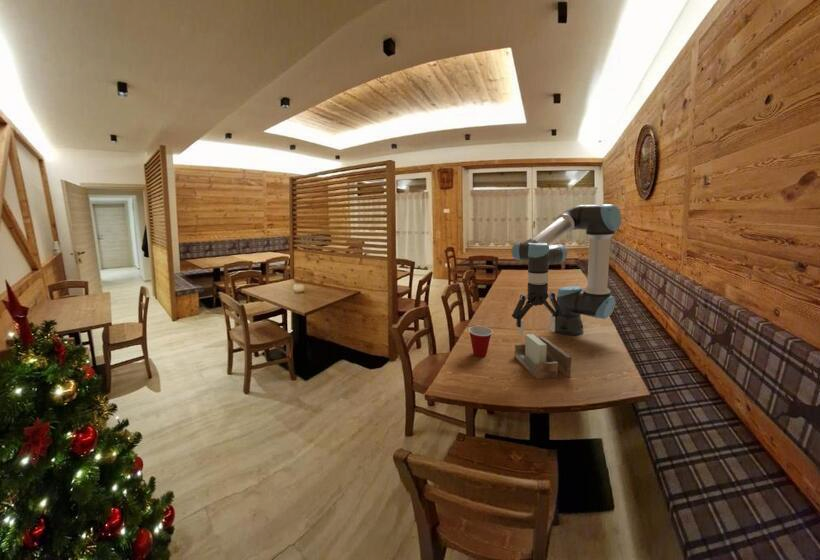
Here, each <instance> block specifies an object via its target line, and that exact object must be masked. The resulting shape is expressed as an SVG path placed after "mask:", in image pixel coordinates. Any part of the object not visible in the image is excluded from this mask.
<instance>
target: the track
mask: <svg viewBox="0 0 820 560" xmlns="http://www.w3.org/2000/svg"><path fill="white" fill-rule="evenodd" d="M539 339H540V340H541V341H542V342H544V343H545V344H546V345H547V350H546V362H545V363H536V366H535V365H534V364H533V363H532V362H530V361H529V360H528V359H527V358H526V357H525V342H524V343H514V357H515V359H516V360H517V361H518V362H520V363H521V365H523V366H524V367H525V369H527V371H529V372H530V373H531V375H533V377H535V378H536V380H544V379H551V378H554V379H555V378H558V372H561V374H563V375H564V376H565V377H571V372H572V369H571V368H572V356H570V355H569V354H568V353H566V352H565V351H564V350H562V349H561V348H560V347H558V346H557V345H555V343H553V342H551V341H550V340H549V339H547V338H546V337H545V336H540V337H539Z"/></svg>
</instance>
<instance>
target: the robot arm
mask: <svg viewBox="0 0 820 560" xmlns="http://www.w3.org/2000/svg"><path fill="white" fill-rule="evenodd" d="M621 223H622V215H621V211H620V209H619V207H618V206H617V205H615V204H613V203H612V204H610V203H609V204H608V203H600V204H598V203H597V204H580V205H576V206H572V207H570V208H568V209H567V210H565V211H563V212H561V213H560V214H559V215H557V216H556V218H555V220H554V221H552V222H551V223H550V224H548V225H547V226H546V227H544V228H543V229H541V230H540V231H539V232H537V233H536V234H534V235H533V236H531V238H529V239H528V240H526V241H525V242H516V243H514V244H513V245H512V248H511V255H512V257H513V259H514V260H519V261H525V262H526V261H527V263H528V264H527V267H528V269H527V295H523V294H520V295H519V299H518V302H517V304H516V306H515V308H514V311H513V313H512V314H511V318H513V319H515V320H516V327H518V328H517V330H518V331H517V332H518V334H519V335H520V337H521V336H524V319H523V318H524V317H525V316H526V314H527V313H528V312H529V310H531V308H533V307H534V306H535V307H536V306H542V305H543V306H544V307H545V308H546V309H547V310H548V311H549V312H550V313H551V314H549V330H550V331H551V332H552V333H558V334H561V335H562V334H563V335H566V336H567V335H568V336H569V335H570V336H576V335H581V334H583V333H584V324H583V320H582V318H581V317H582V315H583V316H588V317H591V318H595V319H601V320H606V319H608V318H609V317H610V316H611V315H612V313H613V311H614V309H615V306H616V298H615V296H613V295H611V293H612V292H611V290H610V288H608V283H609V282H608V281H609V265H610V249H611V248H610V247H611V238H612V237H613V236H614V235H615V232H616V231H618V230H619V229H620V227H621ZM574 230H575V231H576V230H585V234H586V236H587V237H588V238H589V242H588V259H587V260H588V261H587V262H588V264H587V280H586V281H587V282H586V285H587V286H586V287H585V288H583V287H581V286H575V285H573V286H571V285H570V286H564V287H560V288H558V289H557V292H556V294H555V293H554V292H552V291H550V292H548V290H549V289H548V287H549V266H550V265H556V264H560V263H561V262H564V261H565V260H566V259H567V257H568V249H567V248H566V246H564V245H563V244H560V243H558V244H557V243H556V244H553V243H555V242H556V241H557V240H559V239H560V238H561V237H562V236H563V235H565V234H568V233H571V232H572V231H574ZM548 298H549V299H550V302H551V304H552V306H551V305H550V304H549V302H548V301H547V299H548Z"/></svg>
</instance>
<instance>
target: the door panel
mask: <svg viewBox="0 0 820 560" xmlns="http://www.w3.org/2000/svg"><path fill="white" fill-rule="evenodd" d="M524 343H525V357H526V358H527V359H528V360H529V361H530V362H532V363H533V364H534V365H535V366H536V363H545V362H547V360H546V350H547V345H546V344H545V343H544V342H542V341H541V340H540V338H539V337H537V336H536V335H534V334H533V333H527V334H525V342H524Z"/></svg>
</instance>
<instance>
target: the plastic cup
mask: <svg viewBox="0 0 820 560" xmlns="http://www.w3.org/2000/svg"><path fill="white" fill-rule="evenodd" d="M468 332H469V337H470V343H471V348H472V352H473V355H474V356H476V357H479V358H482V357H486V356H487V353H488V351H489V343H490V342H491V341H490V340H491V336H492V334H493V333H494V331H493V329H491V328H490V327H487V326H483V325H472V326H470V327H468Z"/></svg>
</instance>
